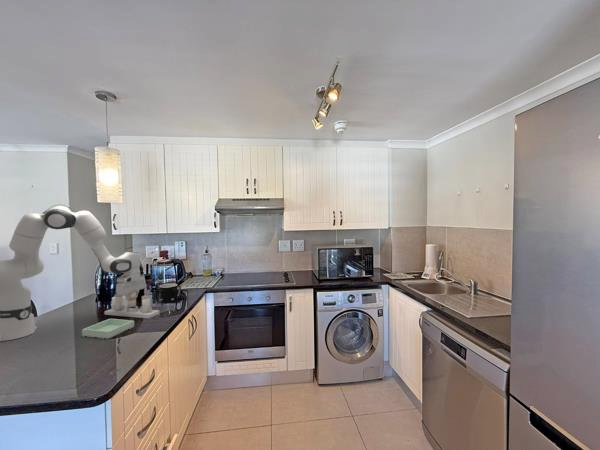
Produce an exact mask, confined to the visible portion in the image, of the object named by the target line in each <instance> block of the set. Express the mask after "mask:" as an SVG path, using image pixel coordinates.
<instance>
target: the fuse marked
mask: <svg viewBox="0 0 600 450" xmlns="http://www.w3.org/2000/svg"><path fill="white" fill-rule="evenodd" d="M128 296H129V297H130V300H128V307H129V308H133V307H134V308H135V307H136V306H137V297H136V290H134V291H133V292H131V293H129V295H128Z"/></svg>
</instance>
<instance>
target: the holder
mask: <svg viewBox="0 0 600 450" xmlns="http://www.w3.org/2000/svg"><path fill="white" fill-rule="evenodd" d="M114 308H115V305H113V308H110V309H108V310H104V315H105V316H106V315H107V316H116V317H128V318H129V317H130V318H139V319H140V318H141V319H151V318H152V317H155V316H158V315H159V314H160V310H158V309H153V307H152V306H150V308H149V313H142V306H140V307H139V306H137V305H136V306H135V307H134V308H133V307H128V306H126V307H125V305H122V306H121V310H120V311H114Z"/></svg>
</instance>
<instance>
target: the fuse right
mask: <svg viewBox="0 0 600 450" xmlns="http://www.w3.org/2000/svg"><path fill="white" fill-rule="evenodd" d="M141 307H142V313H149V308H150V307H151V295H149V294H144V295H142V296H141Z"/></svg>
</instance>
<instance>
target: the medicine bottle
mask: <svg viewBox="0 0 600 450" xmlns="http://www.w3.org/2000/svg"><path fill="white" fill-rule="evenodd" d="M115 294H116V290H114V295H115ZM113 305H115V297H114V296H113V297H111V309H113ZM123 305H125V308H126V306H128V300H126V297H125V296H124V295H123Z"/></svg>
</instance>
